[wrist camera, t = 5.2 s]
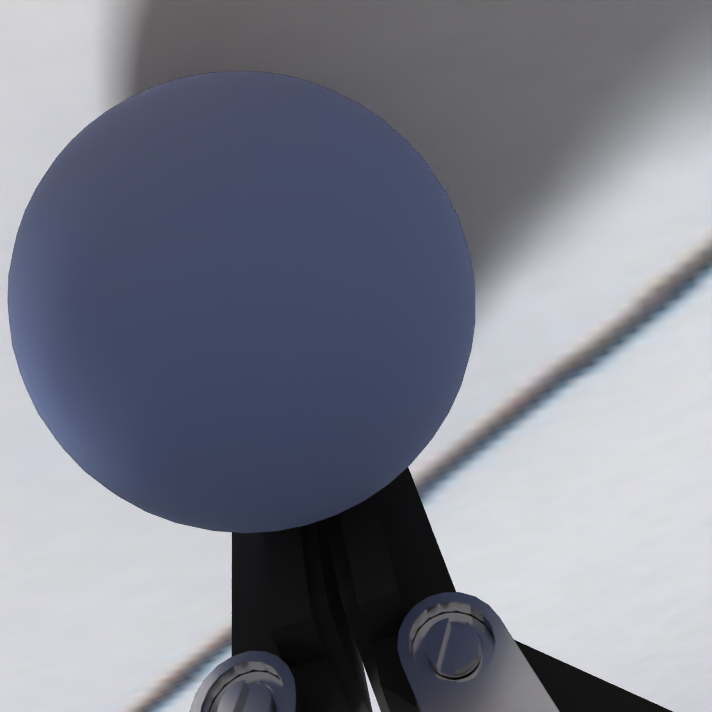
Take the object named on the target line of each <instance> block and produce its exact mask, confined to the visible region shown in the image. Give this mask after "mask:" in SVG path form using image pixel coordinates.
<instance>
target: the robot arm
mask: <svg viewBox="0 0 712 712" xmlns="http://www.w3.org/2000/svg"><path fill="white" fill-rule="evenodd" d="M363 664H364V667H365V670H366V672H367V675H368V678H369V681H370V683H371V686H372V689H373V691H374V694H375V697H376V699H377V702H378V705H379V707H380V710H381V712H672V711H670V710H668V709H666V708H664V707H661V706H659V705H657V704H655V703H653V702H650V701H648V700H646V699H644V698H642V697H639V696H637V695H635V694H633V693H630V692H628V691H626V690H624V689H622V688H619V687H617V686H615V685H613V684H611V683H608V682H606V681H604V680H602V679H600V678H597V677H595V676H593V675H591V674H588V673H586V672H584V671H582V670H580V669H577V668H575V667H573V666H571V665H569V664H566V663H564V662H562V661H560V660H558V659H555V658H553V657H551V656H549V655H546V654H544V653H542V652H540V651H538V650H535V649H533V648H531V647H529V646H527V645H524V644H522V643H520V642H518V641H516V640H514V639H513V638H512V636H511V635H510V633H509V632H508V630H507V628H506V627H505V625H504V624H503V622H502V620H501V619H500V617H499V616H498V615H497V614H496V613H495V612H494V610H493V609H492V608H491V607H490V606H489V605H488V604H486V603H485V602H483V601H481V600H480V599H478V598H477V597H475V596H471V595H468V594H464V593H460V592H456V591H455V588H454V585H453V583H452V580H451V577H450V575H449V572H448V570H447V567H446V564H445V562H444V559H443V557H442V554H441V551H440V549H439V546H438V544H437V541H436V538H435V536H434V533H433V531H432V528H431V525H430V523H429V520H428V518H427V515H426V512H425V510H424V507H423V505H422V502H421V499H420V497H419V494H418V491H417V489H416V486H415V484H414V481H413V478H412V476H411V473H410V471H409V468H408V467H407V468H406V469H405V470H404V471H403V472H402V473H400V474H399V475H398V476H397V477H396V478H395V479H394V480H393V481H392V482H390V483H389V484H388V485H387V486H385V487H384V488H382V489H381V490H379V491H378V492H376V493H375V494H373V495H372V496H370V497H369V498H368V499H366V500H365V501H363V502H361V503H359V504H357V505H355V506H353V507H351V508H349V509H347V510H345V511H343V512H341V513H339V514H337V515H335V516H332V517H329V518H326V519H323V520H320V521H317V522H314V523H311V524H308V525H305V526H300V527H295V528H290V529H285V530H280V531H271V532H256V533H236V532H232V657H231V658H229V659H227V660H226V661H224V662H223V663H221V664H219V665H218V666H217V667H216V668H215V669H214V670H213V671H212V672H211V673H210V674H209V675H208V676H207V677H206V678H205V680H204V681H203V683H202V684H201V686H200V687H199V689H198V691H197V692H196V694H195V696H194V699H193V702H192V705H191V708H190V711H189V712H372V707H371V702H370V697H369V692H368V687H367V682H366V677H365V672H364V667H363Z"/></svg>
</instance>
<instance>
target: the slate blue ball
mask: <svg viewBox="0 0 712 712" xmlns="http://www.w3.org/2000/svg"><path fill="white" fill-rule="evenodd" d="M8 313H9V323H10V331H11V339H12V346H13V350H14V353H15V357H16V360H17V364H18V367H19V371H20V374H21V376H22V379H23V381H24V384H25V387H26V389H27V391H28V393H29V395H30V397H31V399H32V402H33V404H34V406H35V408H36V410H37V412H38V414H39V416H40V417H41V418H42V420H43V421H44V423H45V424H46V426H47V427H48V429H49V430H50V432H51V433H52V434H53V436H54V437H55V439H56V440H57V441H58V442H59V444H60V445H61V446H62V448H63V449H64V450H65V451H66V452H67V453H68V454H69V455H70V456H71V457H72V459H73V460H74V461H75V462H76V463H77V464H78V465H79V466H80V467H81V468H82V469H83V470H84V471H85V472H86V473H87V474H89V475H90V476H91V477H93V478H94V479H95V480H97V481H98V482H99V483H101V484H102V485H103V486H104V487H106V488H107V489H108V490H110V491H111V492H113V493H114V494H116V495H117V496H119V497H120V498H122V499H124V500H126V501H128V502H129V503H131V504H133V505H135V506H137V507H139V508H140V509H142V510H144V511H146V512H148V513H151V514H153V515H156V516H159V517H162V518H164V519H167V520H170V521H172V522H175V523H179V524H184V525H188V526H193V527H198V528H202V529H207V530H212V531H222V532H236V533H256V532H271V531H280V530H285V529H290V528H295V527H300V526H305V525H308V524H311V523H314V522H317V521H320V520H323V519H326V518H329V517H332V516H335V515H337V514H339V513H341V512H343V511H345V510H347V509H349V508H351V507H353V506H355V505H357V504H359V503H361V502H363V501H365V500H366V499H368V498H369V497H370V496H372V495H373V494H375V493H376V492H378V491H379V490H381V489H382V488H384V487H385V486H387V485H388V484H389V483H390V482H392V481H393V480H394V479H395V478H396V477H397V476H398V475H399V474H400V473H402V472H403V471H404V470H405V469H406V468H407V467H408V466H409V465H410V464H411V463H412V462H413V461H414V460H415V458H416V457H417V456H418V455H419V454H420V453H421V451H422V450H423V449H424V448H425V447H426V446H427V444H428V443H429V442H430V441H431V439H432V438H433V437H434V435H435V434H436V432H437V430H438V429H439V427H440V426H441V424H442V423H443V421H444V420H445V418H446V416H447V415H448V413H449V411H450V409H451V407H452V405H453V403H454V400H455V398H456V396H457V394H458V392H459V389H460V387H461V384H462V381H463V377H464V374H465V370H466V367H467V363H468V360H469V356H470V353H471V349H472V342H473V334H474V327H475V283H474V276H473V269H472V263H471V257H470V253H469V250H468V247H467V243H466V240H465V237H464V234H463V231H462V228H461V224H460V221H459V218H458V216H457V214H456V212H455V209H454V207H453V205H452V203H451V201H450V199H449V197H448V195H447V193H446V192H445V190H444V189H443V187H442V186H441V184H440V182H439V181H438V179H437V178H436V176H435V175H434V173H433V172H432V170H431V169H430V167H429V166H428V164H427V163H426V161H425V160H424V159H423V158H422V157H421V156H420V155H419V153H418V152H417V151H416V150H415V149H414V148H413V147H412V146H411V144H410V143H409V142H408V141H406V140H405V139H404V138H403V137H402V136H401V135H400V134H399V133H398V132H396V131H395V130H394V129H393V128H392V127H391V126H389V125H388V124H387V123H386V122H385V121H384V120H382V119H381V118H380V117H379V116H377V115H376V114H374V113H373V112H371V111H370V110H368V109H367V108H365V107H364V106H362V105H361V104H359V103H357V102H355V101H353V100H351V99H349V98H347V97H345V96H343V95H341V94H339V93H337V92H334V91H332V90H330V89H328V88H325V87H323V86H320V85H317V84H314V83H312V82H309V81H306V80H302V79H298V78H294V77H290V76H286V75H280V74H273V73H267V72H252V71H229V72H212V73H205V74H198V75H192V76H188V77H184V78H180V79H175V80H171V81H169V82H166V83H163V84H160V85H157V86H154V87H151V88H149V89H147V90H145V91H143V92H141V93H138V94H136V95H134V96H132V97H130V98H128V99H126V100H125V101H123V102H121V103H120V104H118V105H116V106H114V107H113V108H111V109H109V110H108V111H106V112H105V113H104V114H102V115H101V116H100V117H98V118H97V119H95V120H94V121H93V122H91V123H90V124H89V125H88V126H86V127H85V128H84V129H83V130H82V131H81V132H80V133H79V134H78V135H77V136H76V137H74V138H73V139H72V140H71V141H70V143H69V144H68V145H67V146H66V147H65V148H64V149H63V151H62V152H61V153H60V154H59V155H58V156H57V158H56V159H55V161H54V162H53V163H52V165H51V166H50V168H49V169H48V171H47V172H46V174H45V175H44V177H43V178H42V180H41V182H40V183H39V185H38V186H37V188H36V190H35V192H34V194H33V196H32V198H31V200H30V202H29V204H28V206H27V208H26V210H25V212H24V215H23V218H22V221H21V224H20V227H19V229H18V232H17V236H16V240H15V245H14V249H13V254H12V260H11V265H10V270H9V276H8Z"/></svg>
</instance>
